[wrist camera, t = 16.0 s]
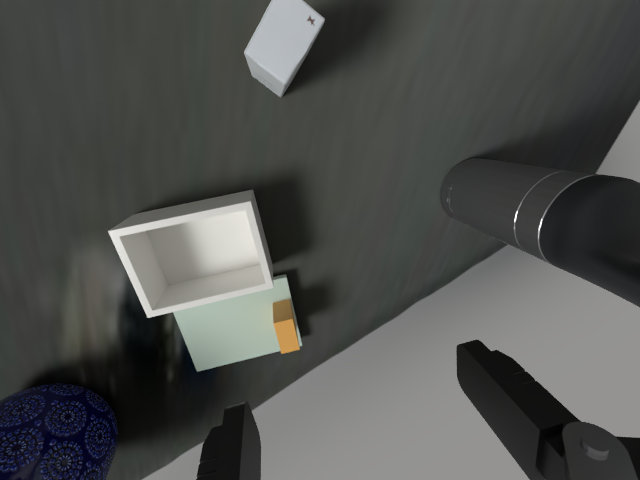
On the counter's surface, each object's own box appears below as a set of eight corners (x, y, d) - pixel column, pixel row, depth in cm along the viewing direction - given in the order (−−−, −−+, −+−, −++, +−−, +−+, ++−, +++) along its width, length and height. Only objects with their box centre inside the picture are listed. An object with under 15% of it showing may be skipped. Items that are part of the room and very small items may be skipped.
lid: (285, 270, 45) (289, 295, 38) (300, 336, 49) (306, 368, 42) (174, 295, 43) (157, 325, 37) (200, 361, 48) (189, 399, 41)
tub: (253, 189, 40) (250, 201, 33) (272, 264, 44) (273, 287, 37) (134, 213, 38) (108, 231, 32) (165, 289, 42) (147, 317, 36)
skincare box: (277, 26, 34) (283, -23, 23) (308, 53, 36) (328, 18, 24) (249, 76, 35) (241, 52, 24) (280, 99, 37) (287, 86, 26)
